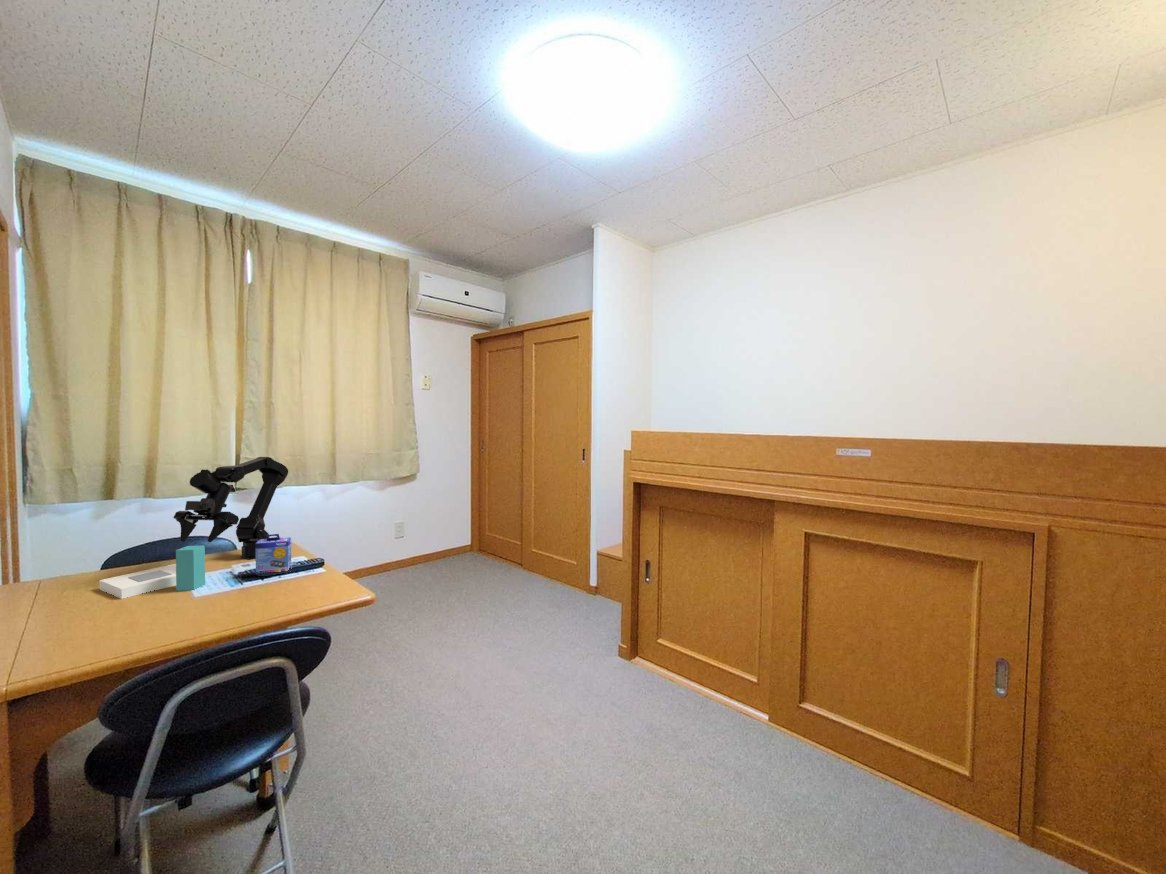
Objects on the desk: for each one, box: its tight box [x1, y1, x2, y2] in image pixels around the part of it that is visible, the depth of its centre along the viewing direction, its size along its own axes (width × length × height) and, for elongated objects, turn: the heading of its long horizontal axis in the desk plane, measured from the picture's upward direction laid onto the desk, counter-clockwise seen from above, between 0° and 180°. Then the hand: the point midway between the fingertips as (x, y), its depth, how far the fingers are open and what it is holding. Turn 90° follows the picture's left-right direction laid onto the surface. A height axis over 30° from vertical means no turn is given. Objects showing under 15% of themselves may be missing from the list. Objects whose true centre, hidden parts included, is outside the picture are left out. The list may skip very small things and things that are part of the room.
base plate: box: [98, 563, 176, 600], centre depth 146 cm, size 20×16×3 cm
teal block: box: [175, 545, 206, 592], centre depth 142 cm, size 5×5×13 cm
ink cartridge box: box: [255, 533, 292, 573], centre depth 156 cm, size 10×6×14 cm, turn 115°
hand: (195, 541), depth 150 cm, fingers open, 9 cm apart
